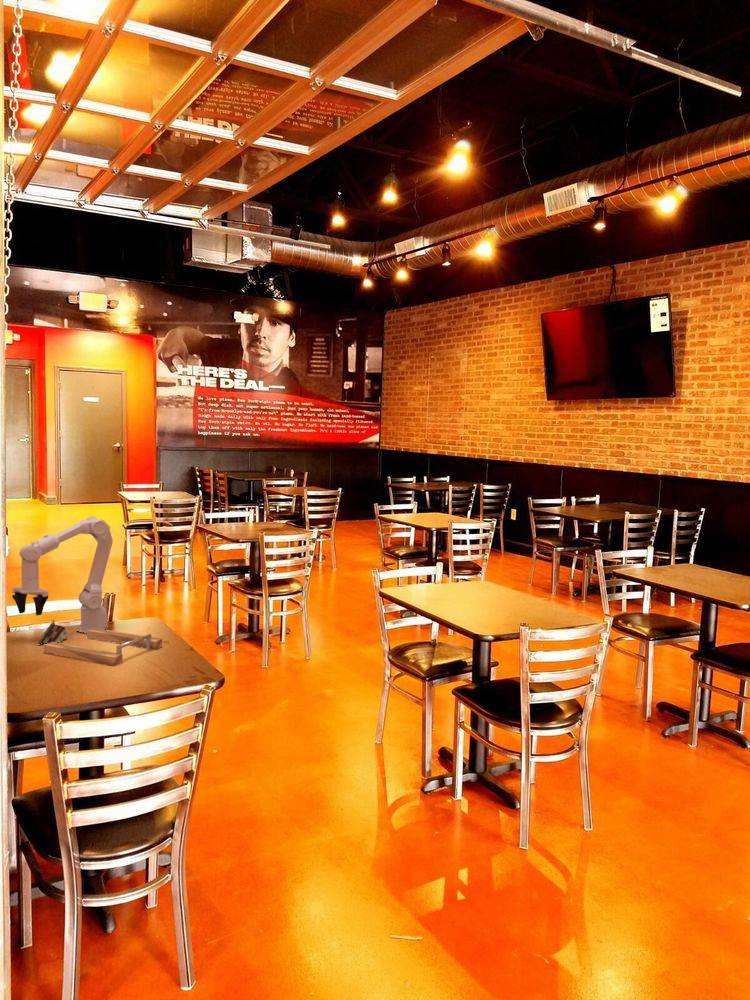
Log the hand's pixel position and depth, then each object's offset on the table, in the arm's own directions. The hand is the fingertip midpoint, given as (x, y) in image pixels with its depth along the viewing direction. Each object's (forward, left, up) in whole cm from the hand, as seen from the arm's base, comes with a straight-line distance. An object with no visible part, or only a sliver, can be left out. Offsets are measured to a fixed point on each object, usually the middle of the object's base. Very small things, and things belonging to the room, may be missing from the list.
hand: (30, 613), depth 273 cm
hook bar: (-3, +46, -10) cm, 47 cm away
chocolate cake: (-3, +8, -11) cm, 14 cm away
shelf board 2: (-13, +32, -10) cm, 36 cm away
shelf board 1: (+7, +32, -10) cm, 34 cm away
